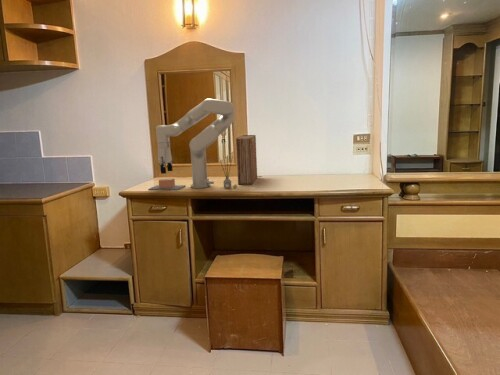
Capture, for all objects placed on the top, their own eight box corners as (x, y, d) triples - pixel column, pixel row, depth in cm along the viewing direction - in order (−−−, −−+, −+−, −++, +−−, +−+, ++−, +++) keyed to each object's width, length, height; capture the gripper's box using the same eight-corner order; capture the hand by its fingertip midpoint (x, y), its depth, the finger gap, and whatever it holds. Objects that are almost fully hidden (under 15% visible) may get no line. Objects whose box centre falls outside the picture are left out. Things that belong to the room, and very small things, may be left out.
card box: (162, 186, 251) (161, 178, 250) (175, 186, 250) (174, 178, 249) (159, 188, 246) (158, 180, 245) (172, 187, 245) (171, 180, 244)
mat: (185, 186, 252) (185, 185, 252) (178, 190, 240) (178, 189, 240) (156, 186, 256) (156, 185, 256) (148, 190, 245) (148, 189, 245)
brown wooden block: (252, 184, 249) (250, 137, 244) (237, 184, 251) (235, 137, 245) (257, 177, 274) (255, 134, 268) (244, 178, 275) (242, 135, 270)
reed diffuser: (220, 189, 238) (218, 156, 235) (221, 187, 245) (219, 155, 241) (236, 188, 238) (235, 155, 235) (237, 186, 245) (235, 154, 241)
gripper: (164, 144, 252) (167, 170, 255) (152, 146, 236) (155, 174, 239) (175, 143, 250) (177, 169, 254) (163, 146, 234) (166, 174, 237)
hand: (166, 172), depth 246 cm, fingers open, 9 cm apart
